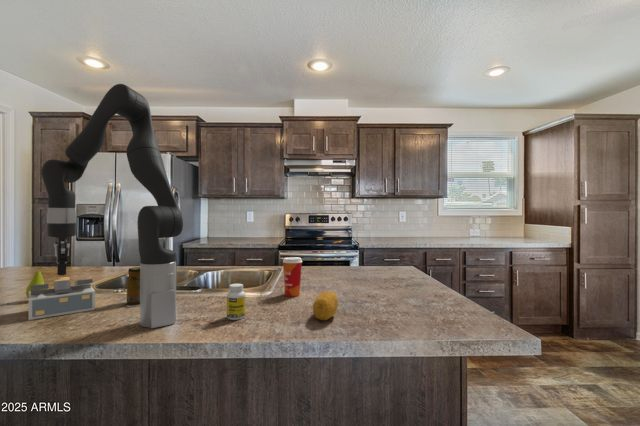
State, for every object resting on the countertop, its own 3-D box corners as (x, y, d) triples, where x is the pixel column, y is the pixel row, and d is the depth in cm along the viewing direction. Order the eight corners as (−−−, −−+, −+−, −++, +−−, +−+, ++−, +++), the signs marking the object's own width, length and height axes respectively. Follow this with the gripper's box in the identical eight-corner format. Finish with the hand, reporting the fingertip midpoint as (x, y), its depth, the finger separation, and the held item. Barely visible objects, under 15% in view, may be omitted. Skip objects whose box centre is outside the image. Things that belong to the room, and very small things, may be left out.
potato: (341, 310, 107) (341, 289, 106) (333, 326, 92) (333, 300, 92) (319, 309, 108) (319, 287, 108) (308, 324, 94) (308, 299, 94)
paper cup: (280, 292, 129) (280, 257, 129) (299, 291, 132) (299, 256, 131) (284, 298, 122) (284, 260, 122) (304, 296, 124) (304, 259, 124)
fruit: (25, 303, 112) (25, 268, 112) (26, 300, 117) (26, 266, 117) (47, 300, 116) (47, 266, 116) (47, 297, 121) (47, 264, 121)
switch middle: (71, 291, 103) (71, 287, 103) (54, 293, 100) (54, 289, 100) (68, 280, 110) (68, 276, 110) (53, 281, 108) (53, 277, 107)
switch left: (48, 287, 99) (48, 283, 100) (30, 289, 97) (30, 285, 97) (47, 288, 107) (47, 284, 107) (30, 290, 104) (30, 286, 104)
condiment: (145, 299, 120) (145, 265, 120) (151, 304, 113) (151, 269, 113) (122, 302, 115) (122, 267, 115) (126, 308, 108) (127, 271, 108)
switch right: (92, 282, 107) (92, 278, 107) (77, 284, 104) (77, 280, 104) (88, 284, 114) (88, 280, 114) (74, 285, 111) (74, 281, 112)
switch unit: (95, 310, 106) (95, 287, 106) (28, 320, 95) (28, 295, 95) (90, 301, 115) (90, 281, 115) (28, 310, 105) (28, 287, 105)
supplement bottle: (226, 321, 96) (226, 287, 96) (226, 315, 101) (226, 283, 101) (245, 319, 97) (245, 286, 97) (244, 314, 103) (244, 282, 103)
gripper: (78, 222, 105) (78, 276, 106) (74, 221, 115) (74, 270, 116) (47, 222, 100) (47, 279, 101) (46, 221, 110) (46, 273, 111)
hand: (61, 274), depth 108 cm, fingers closed
